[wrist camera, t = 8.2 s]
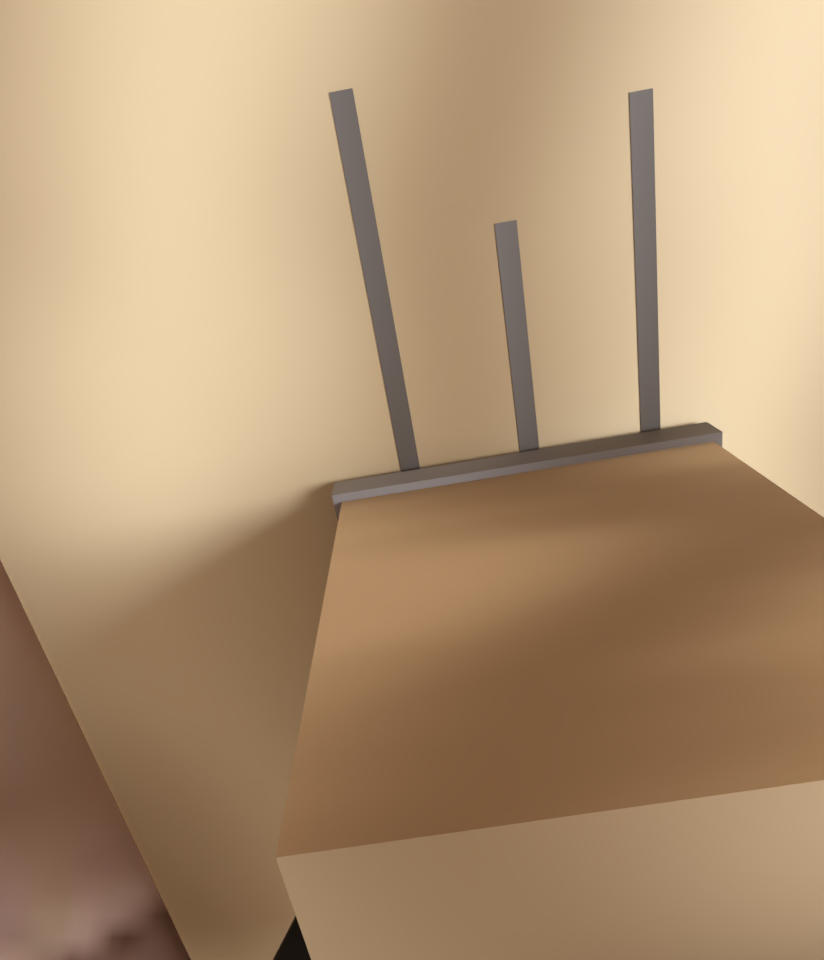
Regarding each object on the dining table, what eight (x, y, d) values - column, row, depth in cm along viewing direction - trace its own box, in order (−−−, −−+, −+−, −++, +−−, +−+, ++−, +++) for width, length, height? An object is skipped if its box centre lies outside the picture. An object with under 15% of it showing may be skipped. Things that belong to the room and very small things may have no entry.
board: (1451, -1888, 4) (1892, -2768, 3) (917, 872, 13) (967, 935, 12) (-706, -1221, 4) (-1088, -1717, 3) (238, 963, 14) (223, 1030, 12)
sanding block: (707, 421, 8) (1164, 717, 3) (703, 881, 11) (933, 1374, 6) (334, 483, 8) (252, 845, 3) (434, 918, 11) (462, 1424, 6)
